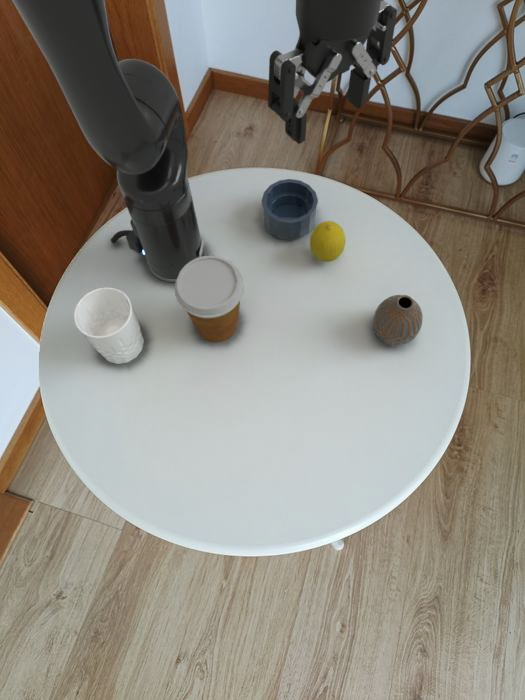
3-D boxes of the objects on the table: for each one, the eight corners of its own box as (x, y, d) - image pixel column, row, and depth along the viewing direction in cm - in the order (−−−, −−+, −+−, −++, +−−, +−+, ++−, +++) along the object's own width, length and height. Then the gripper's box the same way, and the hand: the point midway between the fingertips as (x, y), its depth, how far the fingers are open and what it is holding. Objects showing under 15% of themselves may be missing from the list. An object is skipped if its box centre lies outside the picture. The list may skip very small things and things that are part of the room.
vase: (423, 325, 82) (439, 295, 74) (403, 360, 79) (417, 332, 71) (382, 304, 83) (393, 273, 76) (362, 338, 81) (371, 309, 73)
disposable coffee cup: (174, 319, 83) (159, 276, 73) (224, 287, 86) (216, 241, 75) (209, 363, 80) (199, 325, 69) (260, 328, 82) (257, 286, 71)
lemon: (339, 273, 86) (345, 243, 79) (306, 268, 87) (308, 237, 80) (344, 246, 89) (350, 214, 81) (311, 241, 89) (314, 209, 82)
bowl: (252, 226, 91) (251, 206, 86) (282, 192, 94) (282, 171, 89) (296, 250, 88) (297, 231, 84) (325, 214, 92) (328, 194, 87)
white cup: (158, 342, 82) (143, 310, 73) (119, 377, 79) (98, 348, 70) (124, 312, 84) (106, 277, 75) (85, 345, 82) (62, 313, 73)
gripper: (375, -87, 48) (352, 75, 62) (246, -26, 44) (254, 131, 59) (435, -50, 45) (397, 111, 60) (303, 18, 42) (297, 171, 56)
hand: (326, 120), depth 59 cm, fingers open, 8 cm apart
